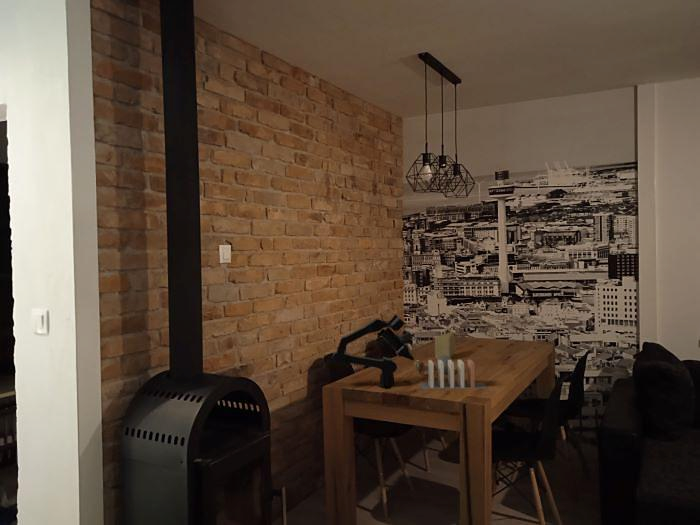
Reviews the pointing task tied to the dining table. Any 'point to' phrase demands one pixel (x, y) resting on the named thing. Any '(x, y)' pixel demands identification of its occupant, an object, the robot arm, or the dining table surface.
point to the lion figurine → (422, 367)
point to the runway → (456, 386)
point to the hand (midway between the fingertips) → (413, 359)
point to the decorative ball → (445, 361)
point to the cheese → (444, 345)
